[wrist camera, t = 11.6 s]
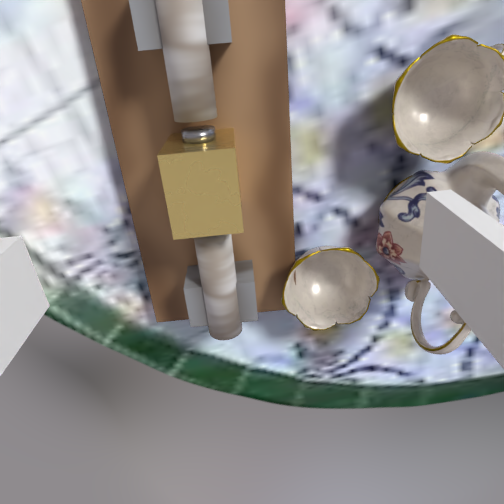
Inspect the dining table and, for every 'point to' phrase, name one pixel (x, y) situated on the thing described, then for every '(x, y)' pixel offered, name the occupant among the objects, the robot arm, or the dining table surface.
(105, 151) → the dining table surface
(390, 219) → the chinaware
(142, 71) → the rig
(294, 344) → the dining table surface
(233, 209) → the block
